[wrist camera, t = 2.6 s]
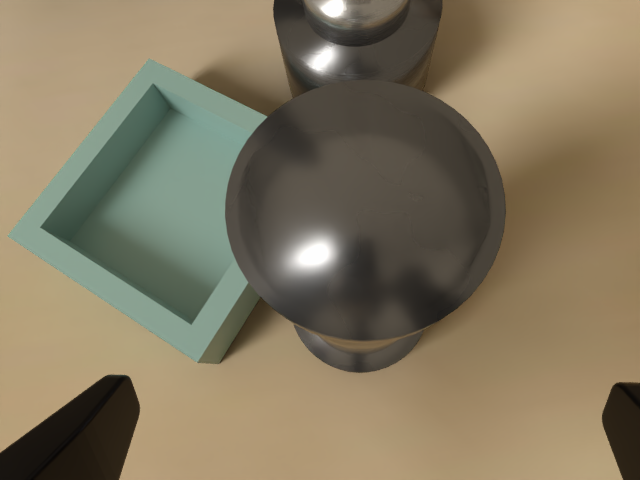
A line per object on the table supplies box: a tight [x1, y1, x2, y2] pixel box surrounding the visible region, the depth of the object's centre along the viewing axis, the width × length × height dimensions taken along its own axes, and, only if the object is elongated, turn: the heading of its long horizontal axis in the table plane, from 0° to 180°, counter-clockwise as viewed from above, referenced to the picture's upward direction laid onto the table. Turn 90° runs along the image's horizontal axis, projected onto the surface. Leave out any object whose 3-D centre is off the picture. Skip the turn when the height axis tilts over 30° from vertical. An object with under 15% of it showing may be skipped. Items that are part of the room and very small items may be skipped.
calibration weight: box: [273, 0, 442, 98], centre depth 19 cm, size 7×7×6 cm
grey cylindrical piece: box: [225, 80, 506, 373], centre depth 13 cm, size 5×5×12 cm
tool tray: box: [8, 59, 267, 364], centre depth 20 cm, size 10×10×3 cm
